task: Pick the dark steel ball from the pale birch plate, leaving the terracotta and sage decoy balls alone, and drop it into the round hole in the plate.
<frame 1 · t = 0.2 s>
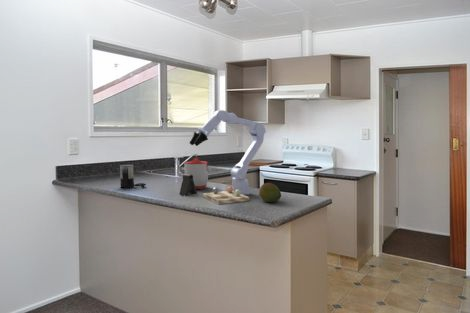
hand: (193, 144, 204), 31 cm above the table, tool tilted 45°, fingers open, 7 cm apart
milk frother: (133, 187, 247), on the table
birch plate: (225, 198, 206), on the table
sage ball: (238, 192, 204), point 4 cm above the table, touching birch plate
door stopper: (188, 194, 221), on the table
terracotta ball: (229, 189, 213), point 4 cm above the table, touching birch plate
steel ball: (215, 190, 211), point 4 cm above the table, touching birch plate
citrus juicer: (198, 188, 240), on the table
fruit: (270, 202, 197), on the table
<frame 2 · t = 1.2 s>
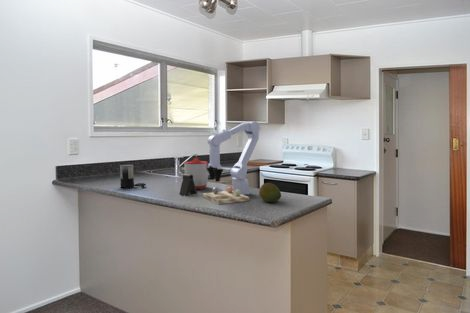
hand: (215, 180, 210), 10 cm above the table, tool pointing down, fingers open, 7 cm apart
nothing on the table moved.
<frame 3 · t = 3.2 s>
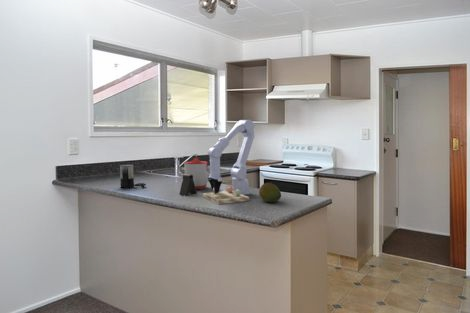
hand: (215, 192, 211), 3 cm above the table, tool pointing down, fingers closed on steel ball, 3 cm apart
steel ball: (215, 190, 211), point 4 cm above the table, touching birch plate, gripper
everything else where it was.
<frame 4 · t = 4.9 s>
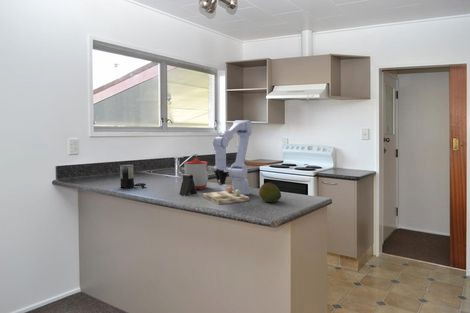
hand: (221, 183, 202), 9 cm above the table, tool pointing down, fingers closed on steel ball, 3 cm apart
steel ball: (221, 182, 202), point 10 cm above the table, touching gripper
everything else where it was.
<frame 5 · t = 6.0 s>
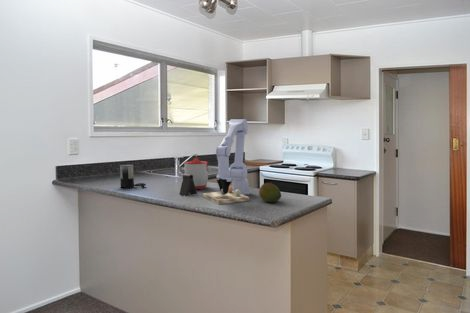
hand: (224, 193, 200), 4 cm above the table, tool pointing down, fingers closed on steel ball, 3 cm apart
steel ball: (223, 191, 200), point 5 cm above the table, touching gripper
everything else where it was.
when the fingers open (4 cm above the table, at t = 6.9 s): steel ball drops 3 cm, point 2 cm above the table.
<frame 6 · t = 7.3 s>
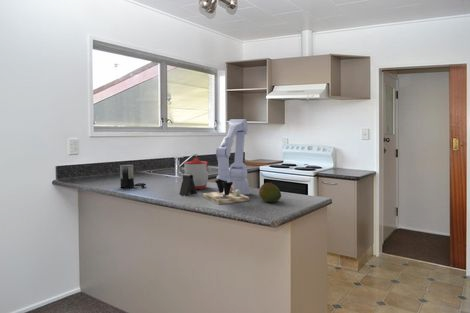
hand: (224, 193, 200), 4 cm above the table, tool pointing down, fingers open, 7 cm apart
steel ball: (223, 197, 200), point 2 cm above the table
everything else where it was.
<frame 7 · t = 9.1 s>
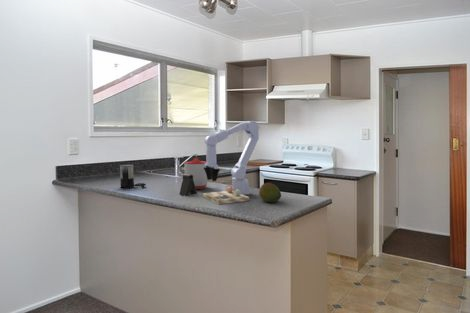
hand: (211, 180, 212), 9 cm above the table, tool pointing down, fingers open, 7 cm apart
nothing on the table moved.
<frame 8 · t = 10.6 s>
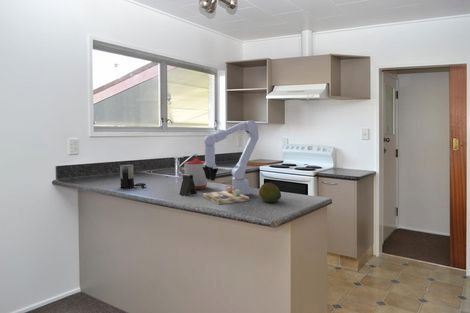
hand: (210, 179, 214), 9 cm above the table, tool pointing down, fingers open, 7 cm apart
nothing on the table moved.
at the end: steel ball 0.1 cm from the target spot on the birch plate, point 1.7 cm above the birch plate's base; terracotta ball moved 0.0 cm from its start; sage ball moved 0.0 cm from its start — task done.
